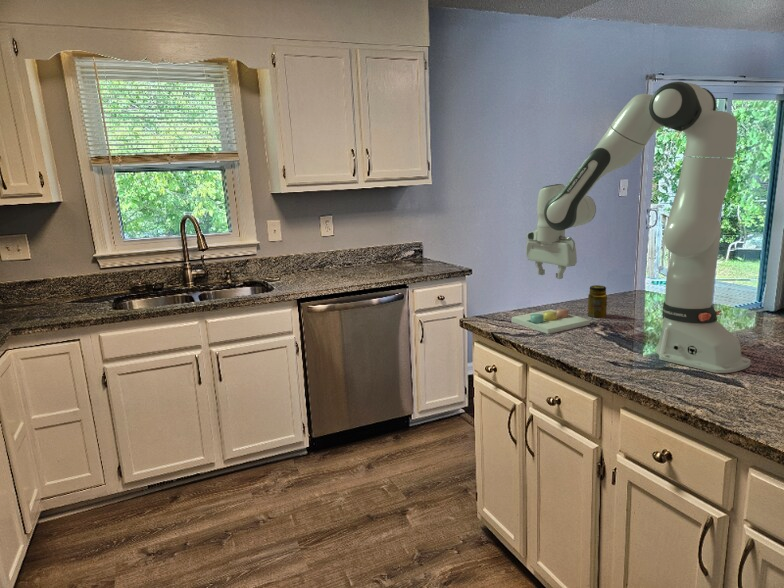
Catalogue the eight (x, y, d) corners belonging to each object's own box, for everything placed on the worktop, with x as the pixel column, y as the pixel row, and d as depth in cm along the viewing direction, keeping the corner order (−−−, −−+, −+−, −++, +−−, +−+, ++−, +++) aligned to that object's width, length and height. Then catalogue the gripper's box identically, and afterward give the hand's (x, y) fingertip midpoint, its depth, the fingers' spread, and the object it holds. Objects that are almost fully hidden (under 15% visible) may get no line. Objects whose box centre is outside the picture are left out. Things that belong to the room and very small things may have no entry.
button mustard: (558, 323, 172) (558, 313, 172) (549, 325, 171) (549, 315, 170) (549, 320, 176) (550, 310, 175) (540, 322, 174) (540, 312, 174)
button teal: (546, 325, 170) (546, 315, 169) (536, 328, 168) (536, 317, 168) (537, 323, 174) (537, 313, 173) (527, 325, 172) (527, 315, 171)
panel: (589, 328, 170) (589, 319, 169) (547, 338, 162) (547, 329, 161) (551, 317, 185) (551, 309, 185) (511, 325, 178) (511, 317, 177)
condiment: (610, 319, 179) (612, 285, 176) (600, 325, 173) (601, 290, 171) (590, 316, 184) (591, 283, 181) (579, 321, 178) (580, 288, 176)
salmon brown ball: (571, 320, 175) (571, 310, 174) (561, 322, 173) (561, 312, 172) (562, 317, 178) (562, 308, 178) (552, 319, 177) (553, 310, 176)
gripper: (582, 236, 159) (580, 280, 162) (537, 232, 177) (536, 271, 180) (566, 238, 157) (565, 282, 160) (522, 233, 175) (522, 273, 178)
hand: (550, 276), depth 170 cm, fingers open, 7 cm apart
